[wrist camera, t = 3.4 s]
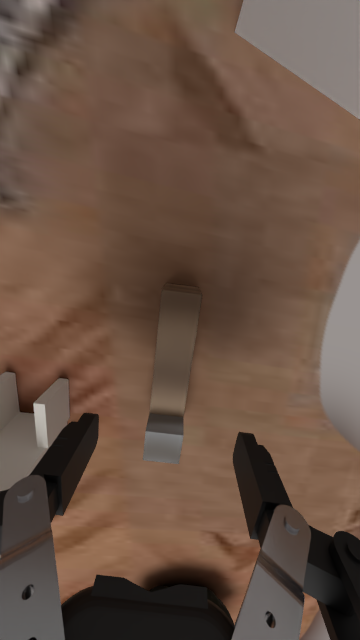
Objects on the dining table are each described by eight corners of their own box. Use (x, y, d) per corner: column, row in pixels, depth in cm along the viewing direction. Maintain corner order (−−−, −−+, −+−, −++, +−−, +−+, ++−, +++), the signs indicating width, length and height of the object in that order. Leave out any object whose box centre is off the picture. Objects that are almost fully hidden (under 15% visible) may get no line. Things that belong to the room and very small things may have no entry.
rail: (166, 283, 19) (158, 294, 14) (198, 287, 20) (204, 300, 14) (152, 413, 24) (142, 464, 18) (179, 416, 24) (177, 468, 18)
